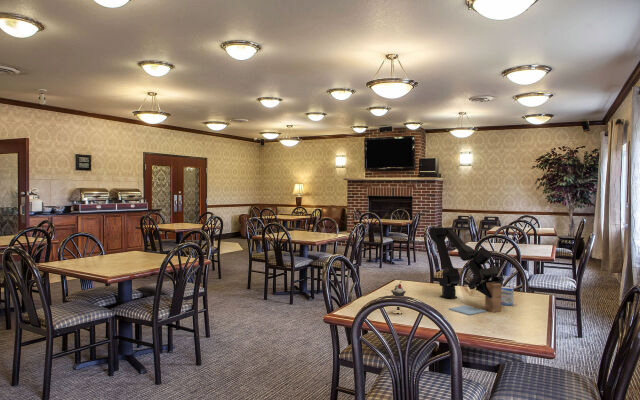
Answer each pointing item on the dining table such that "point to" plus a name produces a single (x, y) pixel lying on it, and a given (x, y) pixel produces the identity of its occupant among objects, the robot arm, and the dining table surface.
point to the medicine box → (507, 296)
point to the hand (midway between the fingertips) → (495, 297)
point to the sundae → (398, 292)
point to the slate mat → (467, 310)
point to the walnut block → (493, 297)
